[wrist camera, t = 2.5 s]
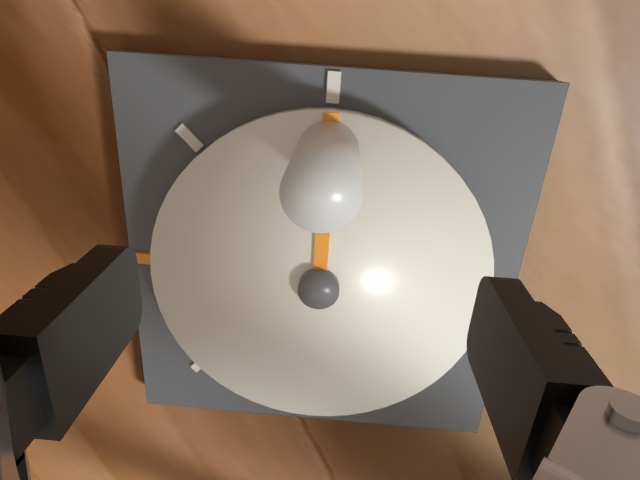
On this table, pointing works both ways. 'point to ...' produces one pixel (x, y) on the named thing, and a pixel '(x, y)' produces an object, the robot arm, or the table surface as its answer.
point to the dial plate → (328, 92)
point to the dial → (320, 262)
